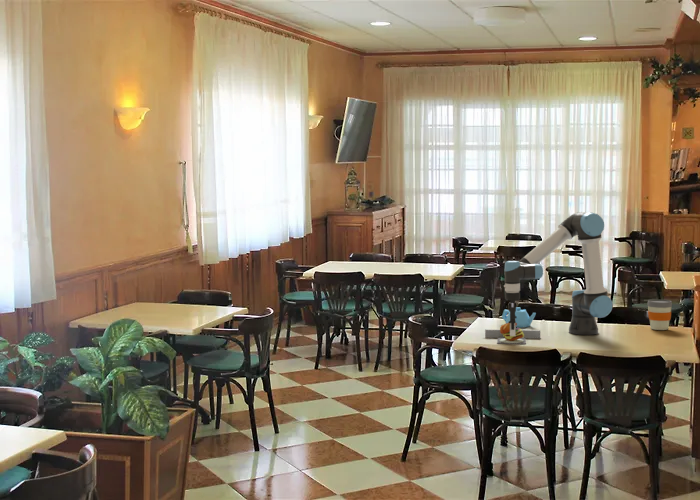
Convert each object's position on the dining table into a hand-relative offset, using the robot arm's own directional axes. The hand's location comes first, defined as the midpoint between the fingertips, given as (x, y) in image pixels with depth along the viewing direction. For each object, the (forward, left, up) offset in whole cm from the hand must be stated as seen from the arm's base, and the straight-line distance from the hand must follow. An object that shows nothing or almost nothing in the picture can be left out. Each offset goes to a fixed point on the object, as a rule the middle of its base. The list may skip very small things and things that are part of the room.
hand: (512, 333), depth 418 cm
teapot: (-3, -47, -4) cm, 47 cm away
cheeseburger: (-1, 0, -4) cm, 4 cm away
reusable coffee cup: (-78, -47, -4) cm, 91 cm away
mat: (+1, 0, -4) cm, 4 cm away
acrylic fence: (0, -11, -4) cm, 12 cm away
